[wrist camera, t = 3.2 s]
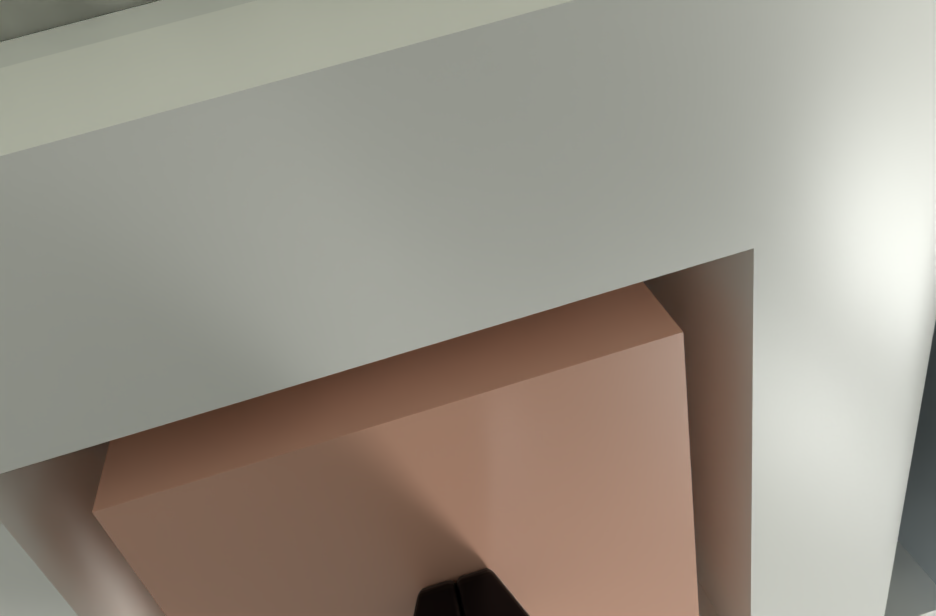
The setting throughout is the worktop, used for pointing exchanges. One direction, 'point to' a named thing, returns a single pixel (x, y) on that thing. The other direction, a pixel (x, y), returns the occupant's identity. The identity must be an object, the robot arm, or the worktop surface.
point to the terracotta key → (431, 478)
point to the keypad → (478, 246)
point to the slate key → (923, 481)
